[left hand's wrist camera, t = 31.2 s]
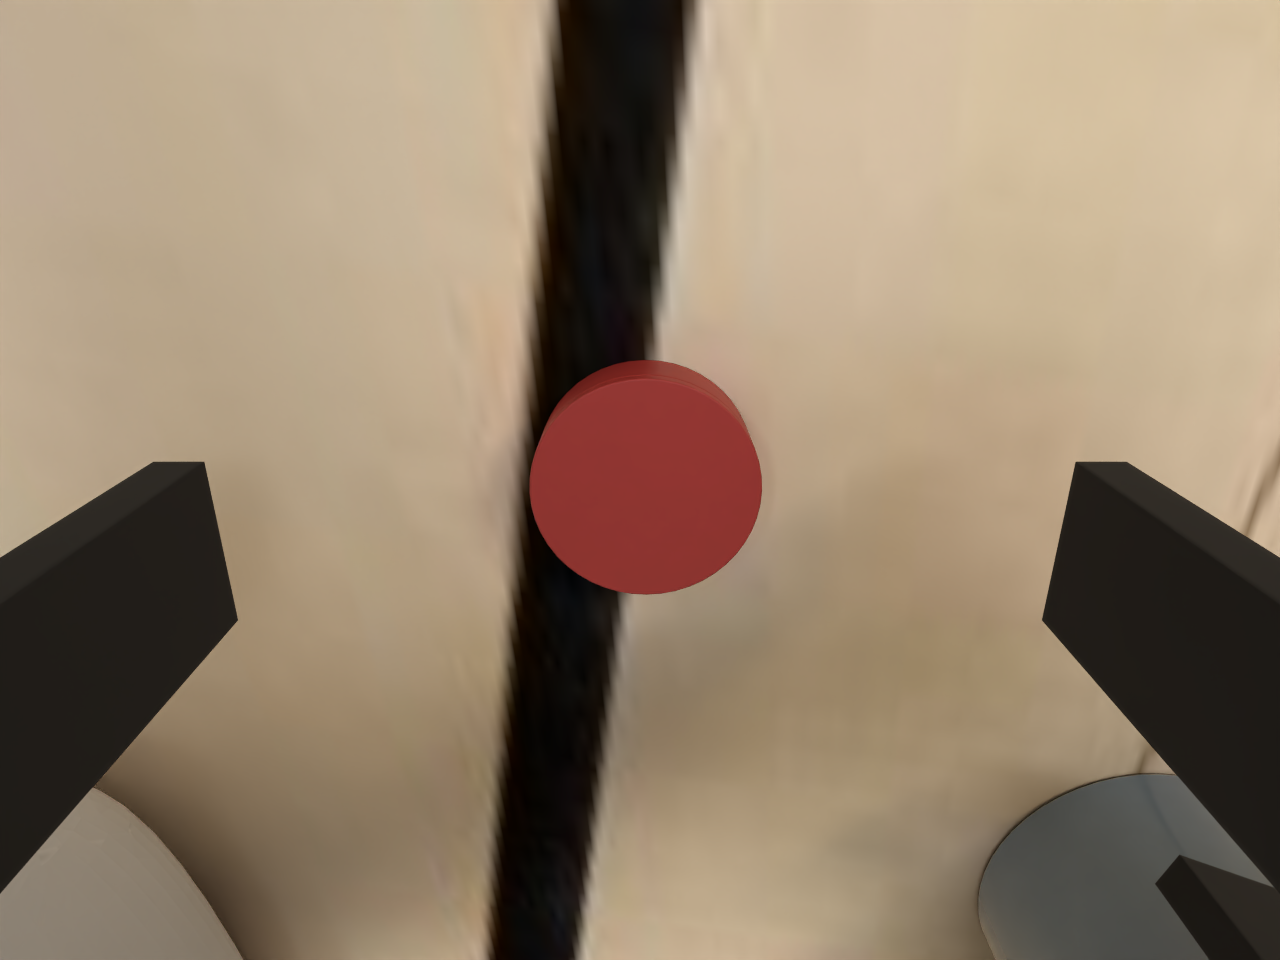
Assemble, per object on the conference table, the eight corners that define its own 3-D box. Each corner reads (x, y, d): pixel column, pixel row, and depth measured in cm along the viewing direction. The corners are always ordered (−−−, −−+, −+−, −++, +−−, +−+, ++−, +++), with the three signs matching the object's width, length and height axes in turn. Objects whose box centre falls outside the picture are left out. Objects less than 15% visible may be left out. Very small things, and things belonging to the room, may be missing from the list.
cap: (761, 545, 18) (771, 580, 16) (559, 571, 18) (552, 607, 16) (741, 345, 16) (750, 362, 15) (520, 375, 16) (508, 396, 15)
